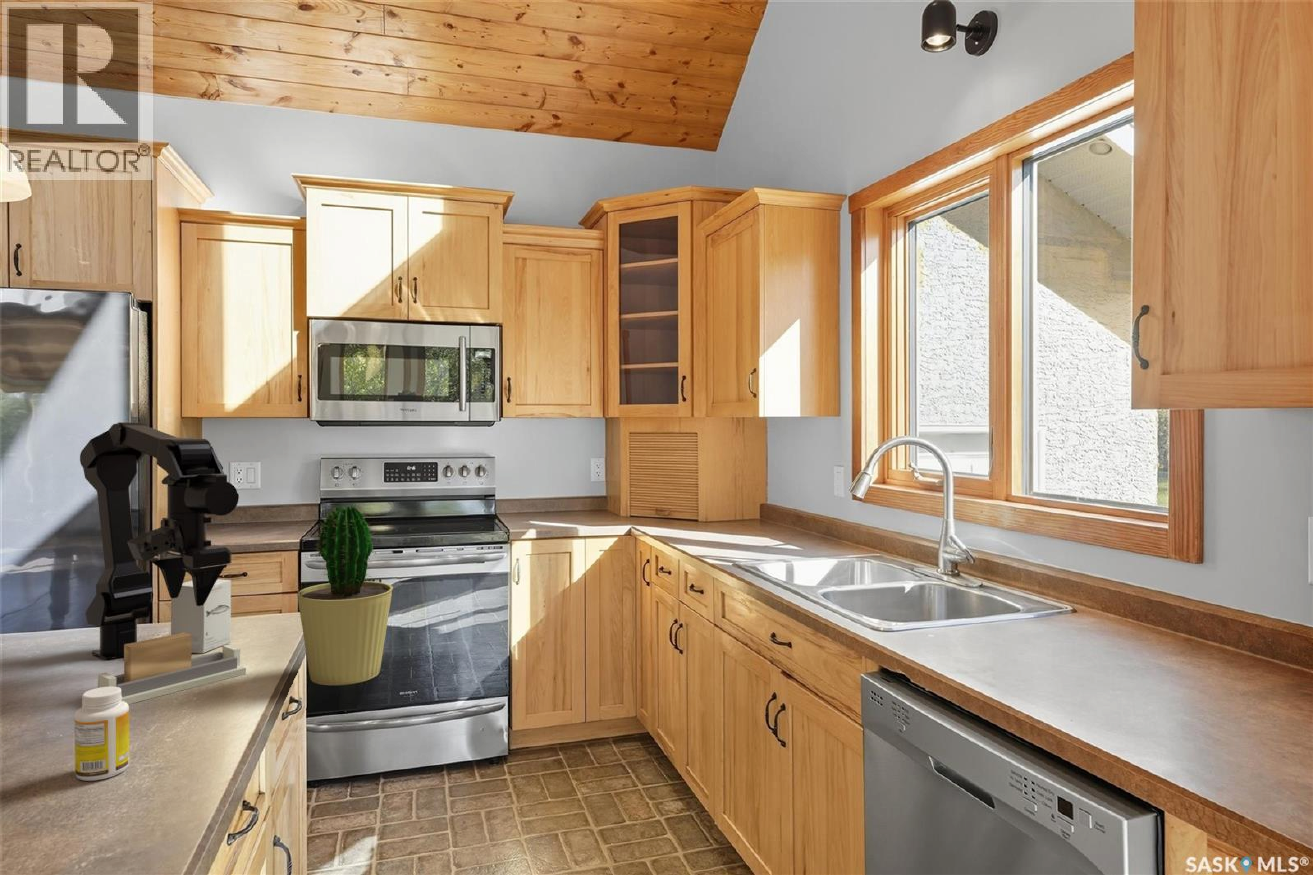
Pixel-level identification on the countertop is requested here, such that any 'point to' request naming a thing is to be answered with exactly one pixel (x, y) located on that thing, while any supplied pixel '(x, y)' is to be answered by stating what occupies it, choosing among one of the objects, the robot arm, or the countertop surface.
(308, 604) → the potted cactus
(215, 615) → the supplement box
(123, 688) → the track board
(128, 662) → the door panel
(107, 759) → the supplement bottle
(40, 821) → the countertop surface
